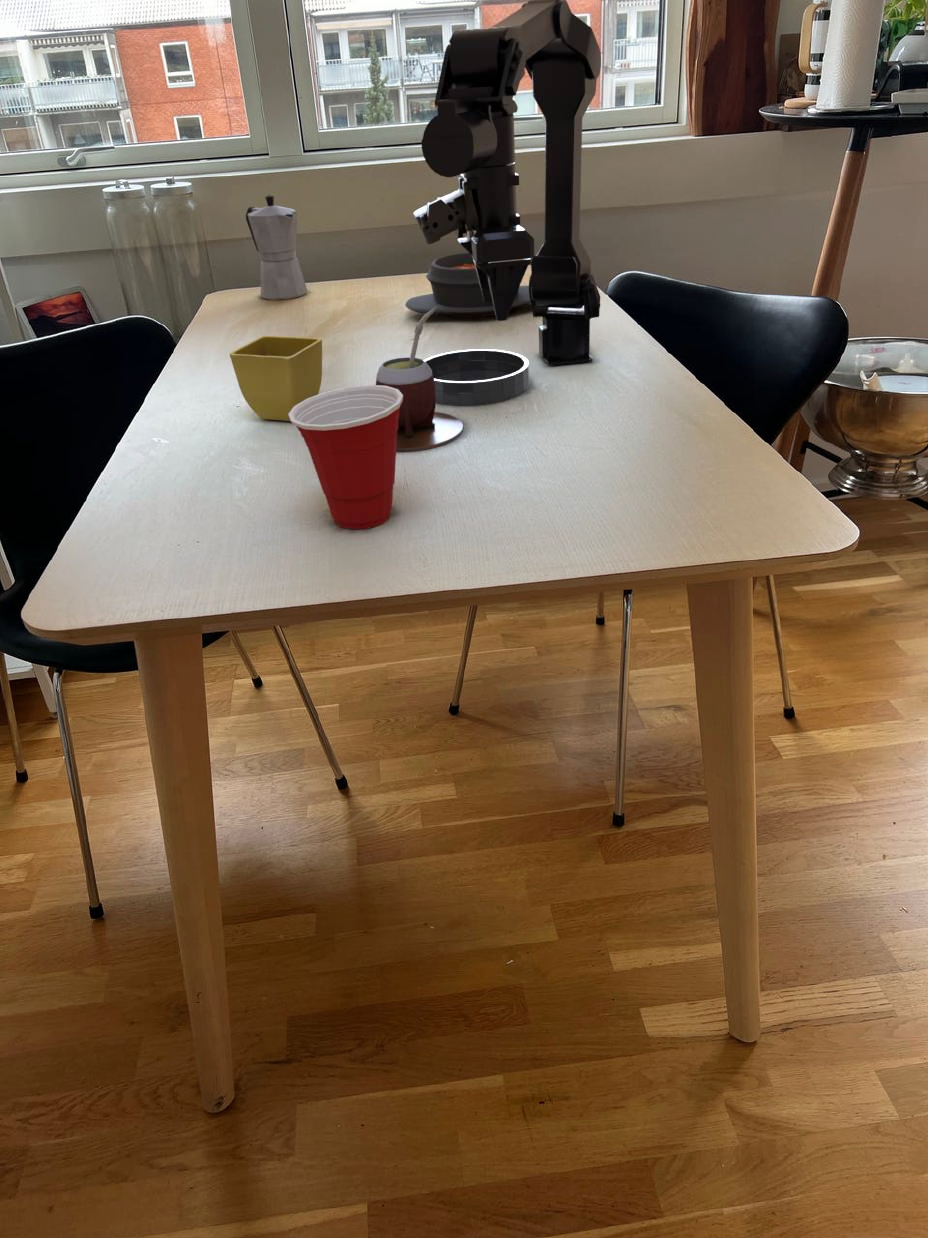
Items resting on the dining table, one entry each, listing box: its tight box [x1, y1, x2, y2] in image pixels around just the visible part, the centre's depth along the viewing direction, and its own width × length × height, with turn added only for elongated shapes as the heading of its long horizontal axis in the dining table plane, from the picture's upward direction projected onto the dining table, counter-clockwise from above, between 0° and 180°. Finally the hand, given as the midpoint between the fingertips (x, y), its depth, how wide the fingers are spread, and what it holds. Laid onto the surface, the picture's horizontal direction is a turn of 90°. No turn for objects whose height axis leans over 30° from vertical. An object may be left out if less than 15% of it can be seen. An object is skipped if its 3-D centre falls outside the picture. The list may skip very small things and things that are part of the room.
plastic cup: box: [288, 384, 403, 530], centre depth 90 cm, size 11×11×12 cm
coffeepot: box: [245, 194, 308, 301], centre depth 180 cm, size 15×9×18 cm, turn 44°
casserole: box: [404, 252, 531, 318], centre depth 162 cm, size 25×19×8 cm
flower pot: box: [229, 335, 323, 422], centre depth 119 cm, size 9×9×9 cm
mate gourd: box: [375, 307, 437, 438], centre depth 109 cm, size 8×8×15 cm
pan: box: [423, 348, 530, 407], centre depth 126 cm, size 15×15×3 cm
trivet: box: [396, 411, 464, 453], centre depth 113 cm, size 13×13×1 cm
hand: (494, 310), depth 110 cm, fingers open, 9 cm apart
